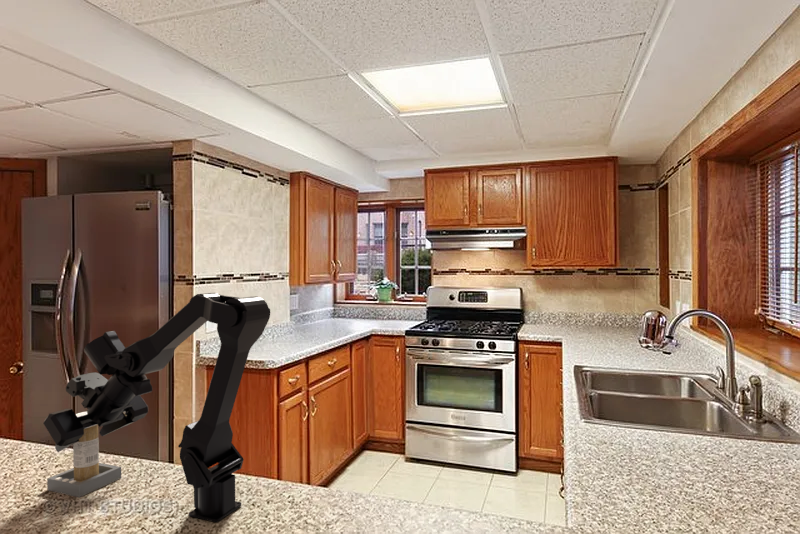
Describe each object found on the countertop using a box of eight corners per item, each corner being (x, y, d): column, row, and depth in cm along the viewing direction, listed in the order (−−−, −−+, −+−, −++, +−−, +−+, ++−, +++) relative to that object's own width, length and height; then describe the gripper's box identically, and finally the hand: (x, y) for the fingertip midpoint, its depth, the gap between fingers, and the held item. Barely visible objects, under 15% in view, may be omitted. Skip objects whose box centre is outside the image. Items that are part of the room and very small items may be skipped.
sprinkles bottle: (96, 473, 102) (95, 408, 102) (102, 479, 99) (101, 413, 99) (70, 480, 99) (69, 413, 99) (75, 487, 95) (75, 418, 95)
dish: (121, 478, 101) (121, 465, 101) (79, 497, 93) (79, 484, 93) (90, 471, 104) (90, 460, 104) (47, 490, 96) (47, 477, 96)
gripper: (137, 353, 106) (102, 399, 110) (49, 370, 89) (11, 425, 93) (166, 392, 103) (128, 438, 107) (80, 418, 86) (39, 472, 90)
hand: (80, 441), depth 99 cm, fingers open, 9 cm apart
